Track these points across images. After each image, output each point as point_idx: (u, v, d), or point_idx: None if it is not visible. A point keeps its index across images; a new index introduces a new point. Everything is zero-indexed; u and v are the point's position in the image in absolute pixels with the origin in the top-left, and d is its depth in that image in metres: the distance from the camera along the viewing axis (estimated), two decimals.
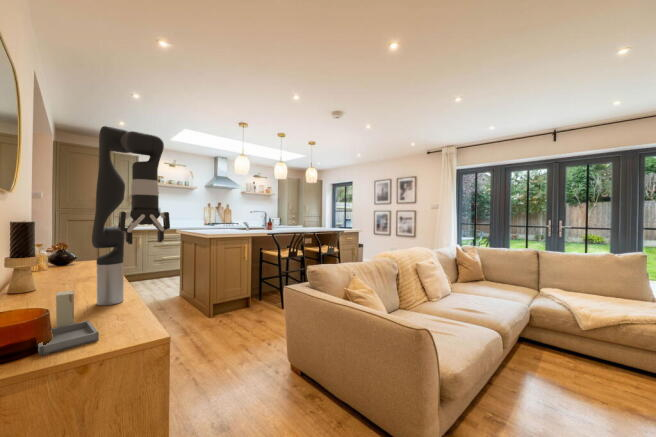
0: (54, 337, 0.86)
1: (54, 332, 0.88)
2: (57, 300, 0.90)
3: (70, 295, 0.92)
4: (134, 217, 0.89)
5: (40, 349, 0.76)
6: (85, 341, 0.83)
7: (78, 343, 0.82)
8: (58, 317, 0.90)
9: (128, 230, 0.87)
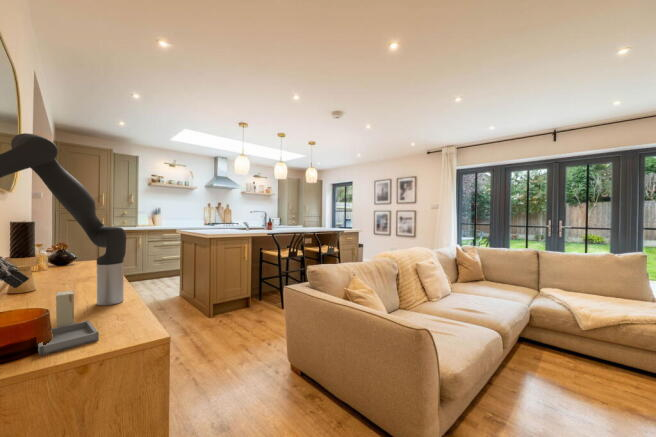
0: (54, 337, 0.86)
1: (54, 332, 0.88)
2: (57, 300, 0.90)
3: (70, 295, 0.92)
4: None
5: (40, 349, 0.76)
6: (85, 341, 0.83)
7: (78, 343, 0.82)
8: (58, 317, 0.90)
9: None
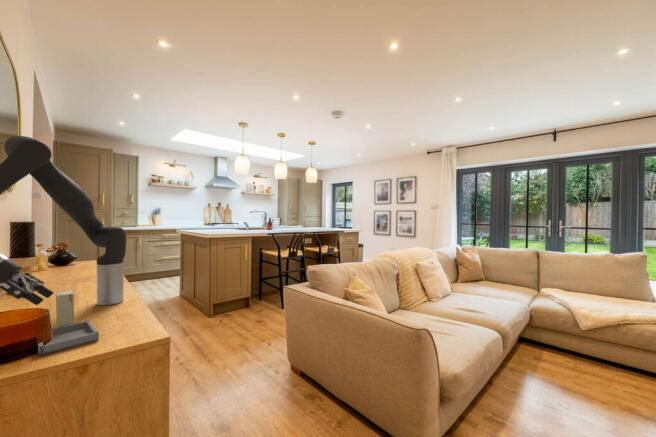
0: (54, 337, 0.86)
1: (54, 332, 0.88)
2: (57, 300, 0.90)
3: (70, 295, 0.92)
4: None
5: (40, 349, 0.76)
6: (85, 341, 0.83)
7: (78, 343, 0.82)
8: (58, 317, 0.90)
9: None
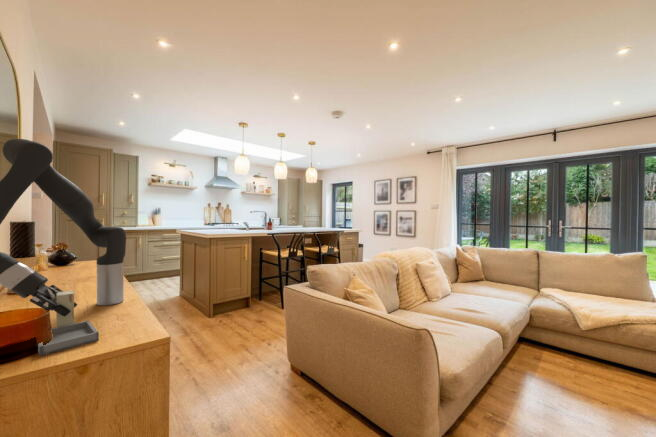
0: (54, 337, 0.86)
1: (54, 332, 0.88)
2: (57, 300, 0.90)
3: (70, 295, 0.92)
4: None
5: (40, 349, 0.76)
6: (85, 341, 0.83)
7: (78, 343, 0.82)
8: (58, 317, 0.90)
9: None
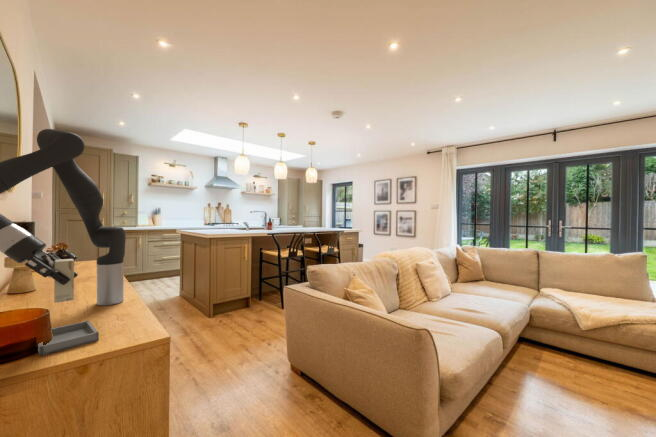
0: (54, 337, 0.86)
1: (54, 332, 0.88)
2: (55, 267, 0.81)
3: (70, 262, 0.84)
4: None
5: (40, 349, 0.76)
6: (85, 341, 0.83)
7: (78, 343, 0.82)
8: (56, 285, 0.82)
9: None
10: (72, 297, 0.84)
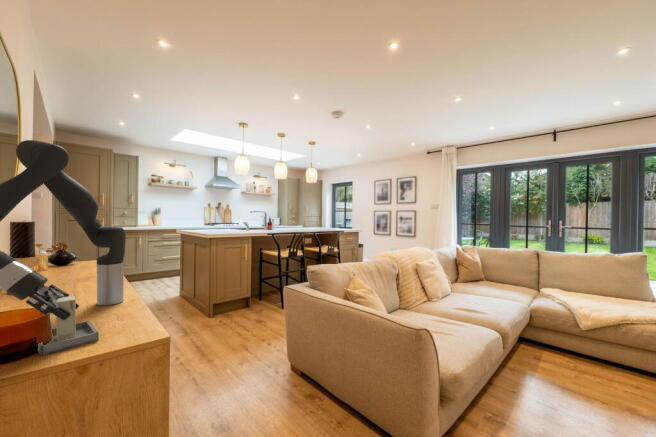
0: (54, 337, 0.86)
1: (54, 332, 0.88)
2: None
3: (71, 301, 0.84)
4: None
5: (40, 349, 0.76)
6: (85, 341, 0.83)
7: (78, 343, 0.82)
8: (58, 326, 0.82)
9: None
10: (74, 336, 0.84)
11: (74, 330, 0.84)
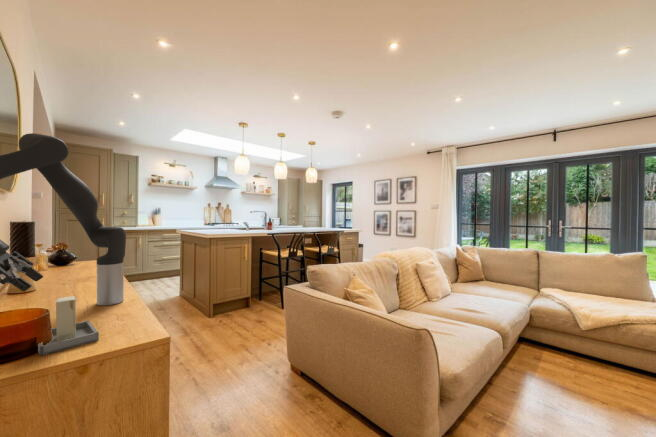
0: (54, 337, 0.86)
1: (54, 332, 0.88)
2: (57, 307, 0.82)
3: (71, 301, 0.84)
4: None
5: (40, 349, 0.76)
6: (85, 341, 0.83)
7: (78, 343, 0.82)
8: (58, 326, 0.82)
9: None
10: (74, 336, 0.84)
11: (74, 330, 0.84)
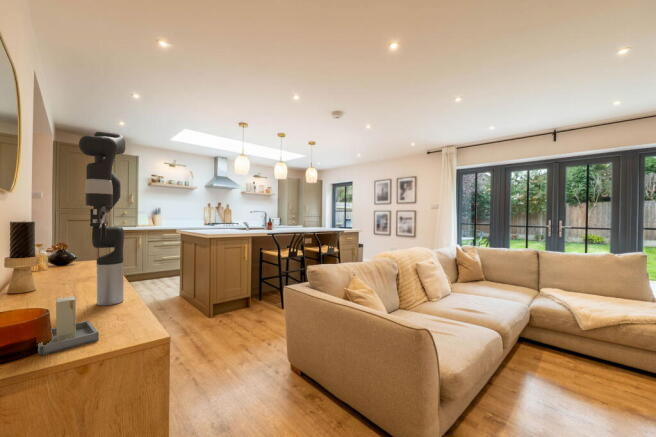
0: (54, 337, 0.86)
1: (54, 332, 0.88)
2: (57, 307, 0.82)
3: (71, 301, 0.84)
4: None
5: (40, 349, 0.76)
6: (85, 341, 0.83)
7: (78, 343, 0.82)
8: (58, 326, 0.82)
9: None
10: (74, 336, 0.84)
11: (74, 330, 0.84)
